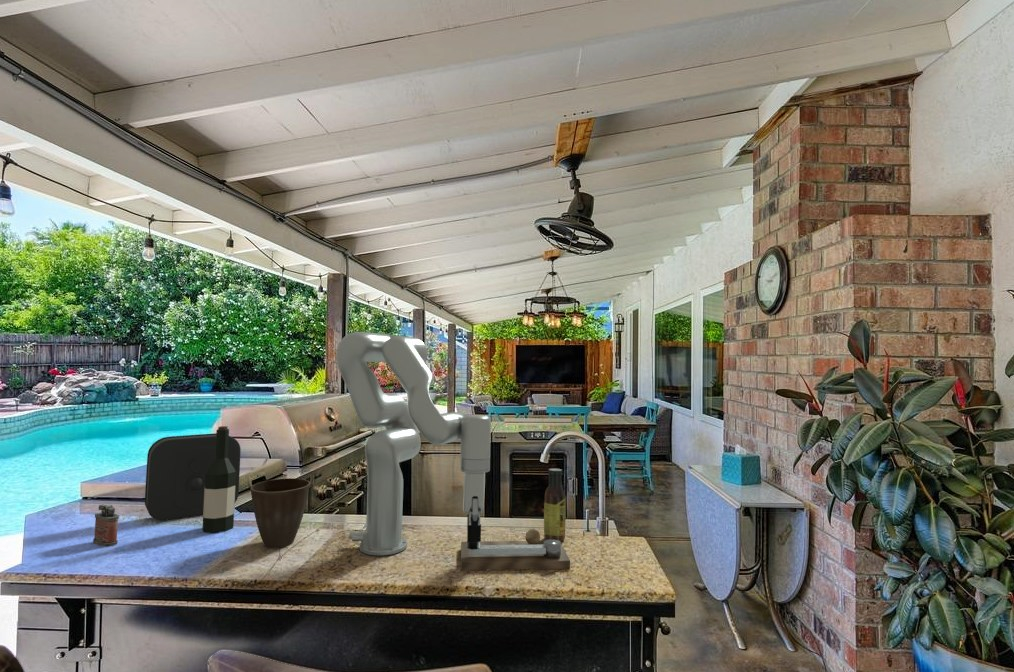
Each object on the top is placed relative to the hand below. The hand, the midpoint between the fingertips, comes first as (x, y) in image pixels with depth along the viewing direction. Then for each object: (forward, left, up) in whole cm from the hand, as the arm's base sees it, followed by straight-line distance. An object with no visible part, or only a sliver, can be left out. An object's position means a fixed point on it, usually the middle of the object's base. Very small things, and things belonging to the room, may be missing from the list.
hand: (473, 535), depth 125 cm
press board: (+10, +4, -7) cm, 14 cm away
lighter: (-99, +19, -8) cm, 101 cm away
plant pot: (-53, +17, -8) cm, 56 cm away
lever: (+10, 0, -5) cm, 11 cm away
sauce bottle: (+24, +18, -8) cm, 31 cm away
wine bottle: (-75, +30, -8) cm, 81 cm away
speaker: (-90, +44, -8) cm, 100 cm away
